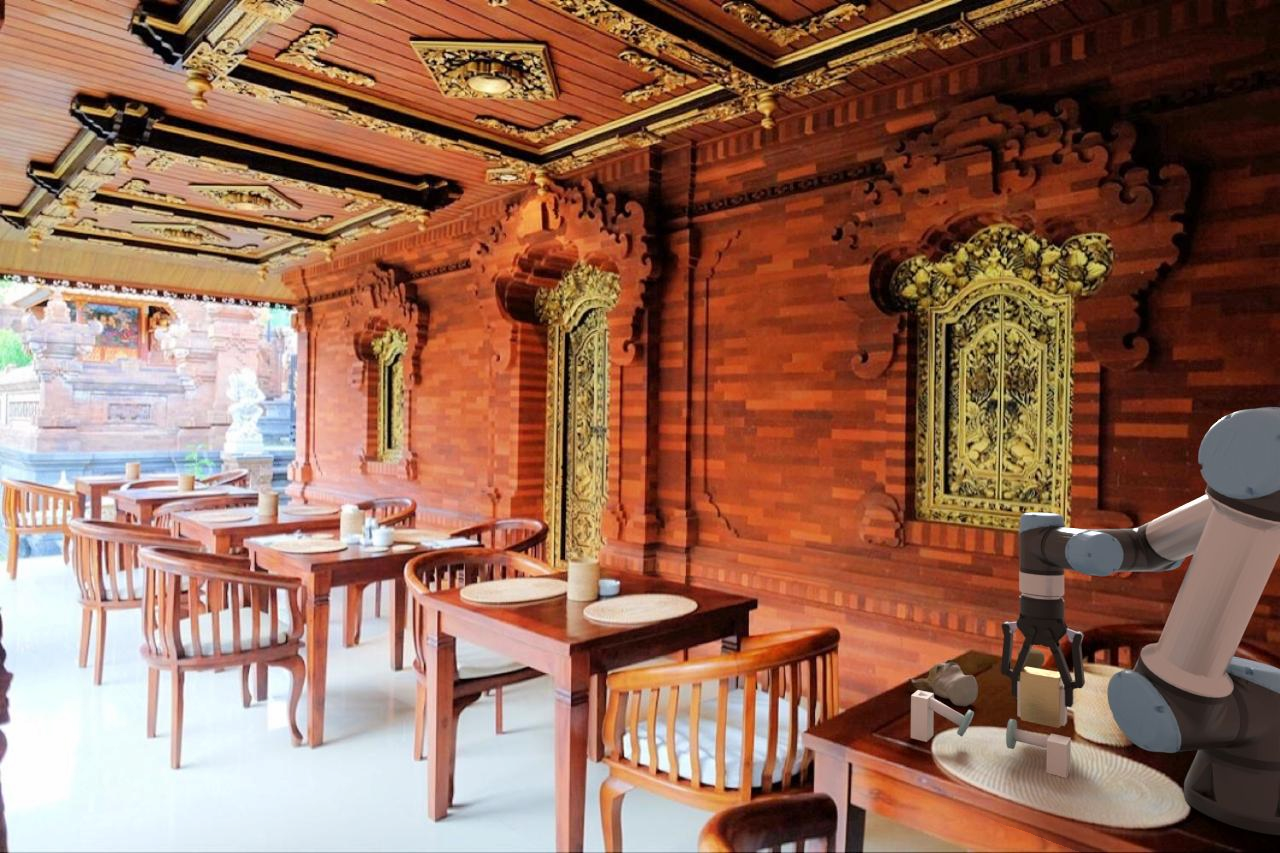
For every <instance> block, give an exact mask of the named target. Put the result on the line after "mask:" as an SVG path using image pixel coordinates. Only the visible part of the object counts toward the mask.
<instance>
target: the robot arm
mask: <svg viewBox="0 0 1280 853" xmlns="http://www.w3.org/2000/svg"><path fill="white" fill-rule="evenodd" d="M1197 461H1198V464H1199V465H1201V466H1202V469H1200V473H1201V476H1202V478H1203V479H1204V481H1205V482H1206V484H1207V485H1206V488H1205V491H1204V492H1205V494H1204V495H1202V496H1200V497H1198V498H1195V499H1194V500H1191V501H1190V502H1188V503H1185V504H1183V505H1182V506H1179V507H1177V508H1175V509H1173V510H1171V511H1169V512H1167V513H1165V514H1163V515H1161V516H1159V517H1157V518H1154V519H1153V520H1150V521H1148V522H1147V523H1145V524H1143V525H1141V526H1138V527H1134V528H1100V529H1099V528H1098V529H1097V528H1096V529H1095V528H1094V529H1093V528H1091V529H1090V528H1088V529H1087V528H1085V529H1084V528H1076V527H1075V528H1073V527H1067V526H1066V524H1065V518H1064V516H1063V515H1061V514H1058V513H1054V512H1053V513H1052V512H1051V513H1050V512H1025V513H1022V514H1021V515H1020V518H1019V529H1018V530H1019V531H1018V534H1017V535H1018V556H1019V557H1018V558H1019V559H1018V561H1019V571H1018V572H1019V573H1018V574H1019V576H1018V577H1019V578H1018V579H1019V580H1018V581H1019V582H1018V583H1019V584H1018V588H1019V589H1018V590H1019V592H1020V593H1021V594H1020V595H1019V601H1018V603H1019V604H1018V605H1019V606H1018V607H1019V616H1018V619H1017V620H1016V621H1011V622H1010V621H1004V622H1003V623H1002V624H1001V630H1002V634H1003V644H1002V653H1001V665H1000V673H1001V675H1003V676H1007V677H1008V678H1009V679H1010V680H1011V688H1010V690H1011V695H1012V697H1014V698H1015V697H1017V699H1016V700H1017V705H1016V706H1017V710H1016V711H1017V712H1016V713H1017V714H1016V716H1017V717H1019V718H1021V678H1020V676H1021V671H1022V670H1023V668H1024V665H1025V663H1026V660H1027V658H1028V655H1029V653H1030V650H1031V648H1032V647H1033V646H1043V647H1045V648H1049V651H1050V652H1051V654H1052V657H1053V660H1054V662H1055V664H1056V665H1055V666H1056V667H1057V668H1056V669H1057V670H1058V671H1057V672H1059V673H1060V676H1061V679H1062V682H1063V686H1062V687H1061V688H1060V725H1061V726H1063V727H1065V726H1066V724H1067V722H1068V708H1072V707H1073V705H1074V690H1075V689H1082V688H1084V685H1085V684H1086V680H1085V679H1086V678H1085V669H1084V662H1083V651H1082V642H1083V639H1084V636H1085V635H1084V633H1083V631H1082V630H1081V631H1079V630H1078V631H1075V630H1073V629H1070V628H1069V627H1068V625H1067V623H1066V622H1065V620H1066V619H1065V600H1064V598H1063V596H1064V595H1065V570H1068V571H1072V572H1076V573H1079V574H1083V575H1086V576H1096V577H1097V576H1098V577H1108V576H1110V575H1112V574H1114V573H1123V572H1124V573H1125V572H1128V573H1129V572H1130V573H1131V572H1153V573H1160V572H1164V571H1172V570H1175V569H1177V568H1179V567H1180V566H1182V563H1183V562H1184V561H1185V559H1186V558H1187V557H1189V556H1191V555H1193V556H1192V558H1191V560H1190V563H1189V565H1188V568H1187V571H1186V573H1185V575H1184V578H1183V580H1182V583H1181V586H1180V587H1179V590H1178V592H1177V595H1176V598H1175V600H1174V602H1173V605H1172V608H1171V610H1170V612H1169V615H1168V617H1167V620H1166V621H1165V625H1164V627H1163V630H1162V632H1161V635H1160V637H1159V640H1158V642H1155V643H1149V644H1146V645H1145V646H1143V648H1142V649H1141V650H1140V654H1139V656H1138V658H1137V660H1136V663H1135V666H1134V668H1133V669H1129V668H1128V669H1127V668H1126V669H1122V670H1121V671H1117V672H1116V673H1114V674H1113V675H1112V677H1111V678H1110V680H1109V681H1108V684H1107V692H1106V693H1107V701H1108V702H1107V703H1108V706H1109V709H1110V711H1111V714H1112V717H1113V719H1114V721H1115V723H1116V725H1117V726H1118V728H1119V730H1121V732H1122V734H1124V736H1125V737H1126V738H1127V739H1128V740H1129V741H1131V743H1133V744H1134V745H1136V746H1137V747H1138V748H1141V749H1143V750H1144V751H1145V750H1146V751H1148V752H1155V753H1168V754H1169V753H1170V754H1173V753H1174V754H1175V753H1178V752H1187V751H1197V752H1196V754H1195V757H1194V759H1193V761H1192V763H1191V765H1190V768H1189V770H1188V772H1187V774H1186V776H1185V779H1184V783H1183V786H1184V787H1183V797H1184V800H1185V801H1186V802H1187V804H1188V805H1190V806H1191V807H1192V808H1194V809H1195V810H1196V811H1198V812H1200V813H1202V814H1204V815H1205V816H1207V817H1209V818H1212V819H1214V820H1216V821H1218V822H1221V823H1224V824H1226V825H1229V826H1232V827H1236V828H1238V829H1242V830H1246V831H1250V832H1255V833H1259V834H1265V835H1272V836H1280V668H1277V667H1275V666H1272V665H1269V664H1267V663H1266V664H1265V663H1262V662H1258V661H1256V660H1255V661H1254V660H1251V659H1247V658H1242V657H1238V656H1235V653H1236V650H1237V649H1238V647H1239V644H1240V643H1241V641H1242V637H1243V636H1244V633H1245V631H1246V629H1247V627H1248V624H1249V623H1250V621H1251V618H1252V615H1253V613H1254V611H1255V609H1256V607H1257V605H1258V602H1259V600H1260V599H1261V596H1262V594H1263V592H1264V589H1265V586H1266V585H1267V583H1268V581H1269V579H1270V576H1271V574H1272V572H1273V570H1274V567H1275V565H1276V563H1277V560H1278V559H1279V556H1280V407H1277V406H1275V407H1274V406H1267V407H1259V408H1249V409H1248V408H1247V409H1242V410H1238V411H1235V412H1233V413H1230V414H1227V415H1225V416H1223V417H1221V419H1218V421H1217V422H1215V423H1213V425H1212V426H1211V427H1210V428H1209V430H1208V431H1207V432H1206V434H1205V435H1204V437H1203V439H1202V440H1201V443H1200V446H1199V449H1198V459H1197ZM1017 628H1018V630H1019V631H1020V633H1021V634H1022V635H1023V637H1024V638H1025V639H1024V641H1023V644H1022V647H1021V648H1020V649H1021V652H1020V654H1019V657H1018V656H1017V659H1016V662H1015V664H1014V667H1013V669H1012V668H1011V667H1012V659H1013V658H1012V655H1013V648H1014V647H1013V646H1014V634H1016V633H1017ZM1065 635H1066V636H1067V637H1068V641H1069V643H1071V654H1072V666H1073V673H1074V674H1073V676H1074V679H1073V677H1072V675H1071V672H1070V669H1069V667H1068V664H1067V661H1066V659H1065V655H1064V653H1063V651H1062V645H1061V643H1060V641H1061V640H1062V638H1063V637H1064V636H1065Z"/></svg>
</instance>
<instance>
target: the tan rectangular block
mask: <svg viewBox="0 0 1280 853" xmlns="http://www.w3.org/2000/svg"><path fill="white" fill-rule="evenodd" d="M1062 686H1064V685H1063V682H1062V679H1061V676H1060V673H1059V671H1055V670H1048V669H1043V668H1042V669H1037V668H1031V667H1025V668H1024V669H1023V670H1022V671H1021V717H1020V721H1024V722H1028V723H1034V724H1038V725H1042V726H1046V727H1048V726H1049V727H1051V728H1057V729H1060V727H1061V726H1062V725H1060V688H1061V687H1062Z"/></svg>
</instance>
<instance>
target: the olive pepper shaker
mask: <svg viewBox="0 0 1280 853" xmlns="http://www.w3.org/2000/svg"><path fill="white" fill-rule="evenodd" d="M1021 649H1022V648H1020V649H1018V653H1017V658H1018V657H1019V654H1020V652H1021ZM1044 663H1045V654H1044V653H1043V651H1041V649H1040V650H1039V649H1037V648H1034V647H1033V648H1031V650H1030V653H1029V655H1028V658H1027V660H1026V663H1025V665H1024V668H1025V667H1031V668H1037V669H1043V668H1042V667H1043V665H1044ZM1024 668H1023V669H1024ZM1020 678H1021V676H1020ZM1014 698H1015V699H1016V700H1017V697H1014Z"/></svg>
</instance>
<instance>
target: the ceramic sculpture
mask: <svg viewBox="0 0 1280 853" xmlns="http://www.w3.org/2000/svg"><path fill="white" fill-rule="evenodd" d="M908 681H909V682H910V683H911V685H913V686H914V687H915V688H916V689H917V690H920V691H925V692H930V693H934V695H936V696H938V697H939V698H942V699H943V698H944V699H945V700H950V701H951V703H952V704H953V705H955V706H958V707H968V706H970V705H972V704H973V703H975V701H976V699H977V698H978V692H979V685H978V683H977V682H978V681H977V680H976V679H975V676H973V675H972V674H970V675H969V674H967V675H965V674H964V673H963V671H962V670H961V666H960V665H958V663H956V662H954V661H953V660H951V659H947V660H946V662H943V663H942V662H941V663H937V664H934V665H933V666H932V667H931V668H930V670H929V673H928V676H927V678H923V677H922V678H917V679H914V678H913V679H912V678H908Z"/></svg>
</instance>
